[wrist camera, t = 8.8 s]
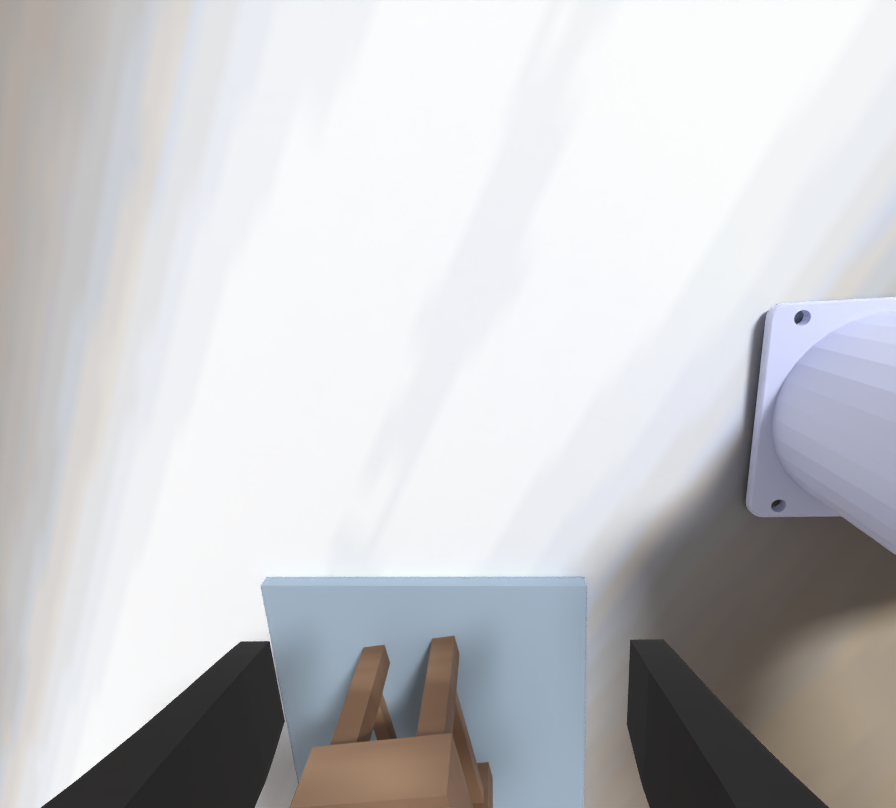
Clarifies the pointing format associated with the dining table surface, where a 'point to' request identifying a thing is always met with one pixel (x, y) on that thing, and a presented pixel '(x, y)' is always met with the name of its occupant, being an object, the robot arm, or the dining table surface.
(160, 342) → the dining table surface
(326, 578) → the mat
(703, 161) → the dining table surface
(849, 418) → the robot arm
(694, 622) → the dining table surface
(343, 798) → the stool
